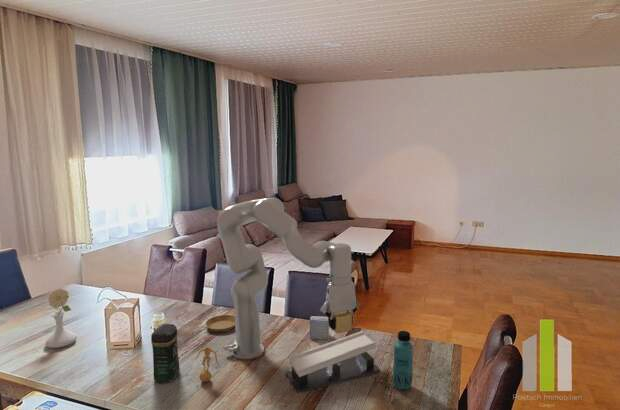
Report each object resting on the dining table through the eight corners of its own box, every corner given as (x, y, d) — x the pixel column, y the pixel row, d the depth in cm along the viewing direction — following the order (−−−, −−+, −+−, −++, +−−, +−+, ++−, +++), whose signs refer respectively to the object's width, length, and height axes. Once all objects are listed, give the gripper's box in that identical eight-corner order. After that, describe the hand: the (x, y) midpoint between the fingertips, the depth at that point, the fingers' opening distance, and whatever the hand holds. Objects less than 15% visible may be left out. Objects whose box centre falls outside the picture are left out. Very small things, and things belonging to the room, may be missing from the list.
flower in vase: (39, 347, 167) (32, 290, 163) (65, 335, 177) (58, 281, 173) (61, 353, 162) (54, 294, 158) (86, 340, 172) (80, 285, 168)
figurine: (192, 382, 141) (190, 351, 139) (200, 373, 147) (198, 342, 145) (213, 386, 139) (211, 353, 137) (221, 376, 145) (219, 345, 143)
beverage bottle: (390, 382, 139) (391, 328, 136) (408, 381, 140) (410, 327, 137) (395, 394, 133) (396, 337, 130) (415, 393, 133) (416, 336, 130)
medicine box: (328, 335, 174) (328, 316, 173) (328, 340, 170) (328, 320, 169) (310, 334, 175) (310, 315, 174) (309, 339, 171) (309, 320, 169)
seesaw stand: (297, 393, 134) (297, 375, 133) (286, 374, 145) (285, 357, 144) (380, 372, 146) (380, 355, 145) (363, 356, 157) (364, 340, 156)
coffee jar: (173, 383, 140) (169, 334, 138) (150, 383, 141) (146, 334, 138) (183, 368, 150) (179, 321, 147) (162, 368, 150) (158, 321, 147)
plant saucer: (202, 323, 187) (202, 318, 187) (233, 317, 194) (233, 312, 193) (209, 337, 174) (208, 331, 174) (242, 330, 180) (242, 324, 180)
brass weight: (336, 333, 141) (336, 317, 140) (329, 326, 146) (329, 310, 145) (351, 330, 143) (351, 314, 142) (344, 323, 148) (344, 308, 147)
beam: (299, 377, 135) (298, 371, 134) (289, 362, 144) (288, 357, 143) (376, 347, 145) (375, 342, 145) (363, 336, 154) (362, 330, 153)
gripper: (321, 285, 135) (322, 335, 138) (367, 278, 141) (366, 326, 144) (313, 278, 142) (314, 326, 145) (357, 272, 148) (357, 318, 151)
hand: (340, 326), depth 144 cm, fingers closed on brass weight, 6 cm apart
